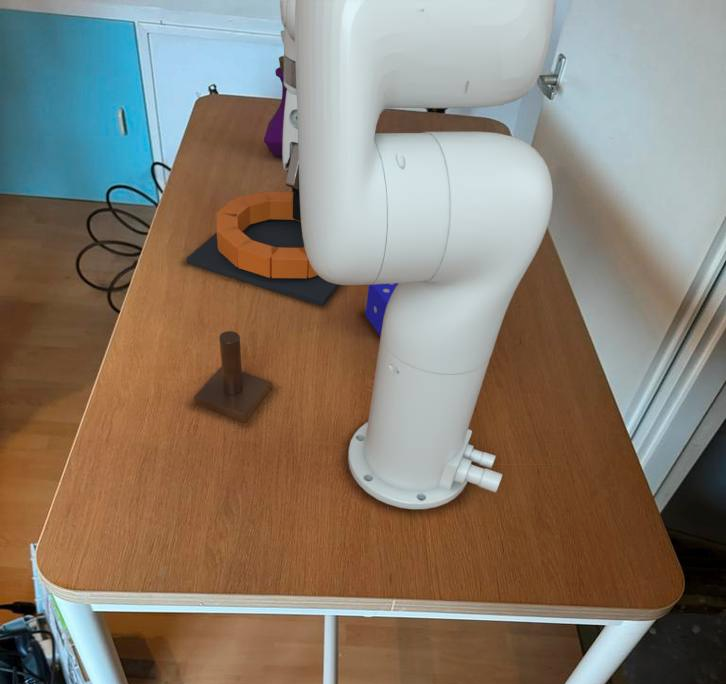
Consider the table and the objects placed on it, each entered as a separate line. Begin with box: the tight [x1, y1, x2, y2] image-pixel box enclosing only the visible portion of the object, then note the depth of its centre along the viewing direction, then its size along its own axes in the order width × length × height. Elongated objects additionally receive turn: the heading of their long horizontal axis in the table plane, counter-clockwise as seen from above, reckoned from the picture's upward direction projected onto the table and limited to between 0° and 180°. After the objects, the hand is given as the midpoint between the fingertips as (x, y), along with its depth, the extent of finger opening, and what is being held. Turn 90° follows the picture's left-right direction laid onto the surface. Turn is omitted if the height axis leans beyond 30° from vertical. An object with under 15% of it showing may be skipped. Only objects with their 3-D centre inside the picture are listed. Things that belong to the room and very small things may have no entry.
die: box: [364, 283, 398, 337], centre depth 80 cm, size 5×5×5 cm
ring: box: [216, 190, 318, 278], centre depth 88 cm, size 18×18×3 cm
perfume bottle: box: [263, 30, 287, 159], centre depth 104 cm, size 8×8×18 cm
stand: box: [193, 330, 272, 424], centre depth 67 cm, size 6×6×8 cm
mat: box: [185, 219, 341, 307], centre depth 89 cm, size 20×18×1 cm
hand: (308, 214), depth 93 cm, fingers closed on ring, 2 cm apart
